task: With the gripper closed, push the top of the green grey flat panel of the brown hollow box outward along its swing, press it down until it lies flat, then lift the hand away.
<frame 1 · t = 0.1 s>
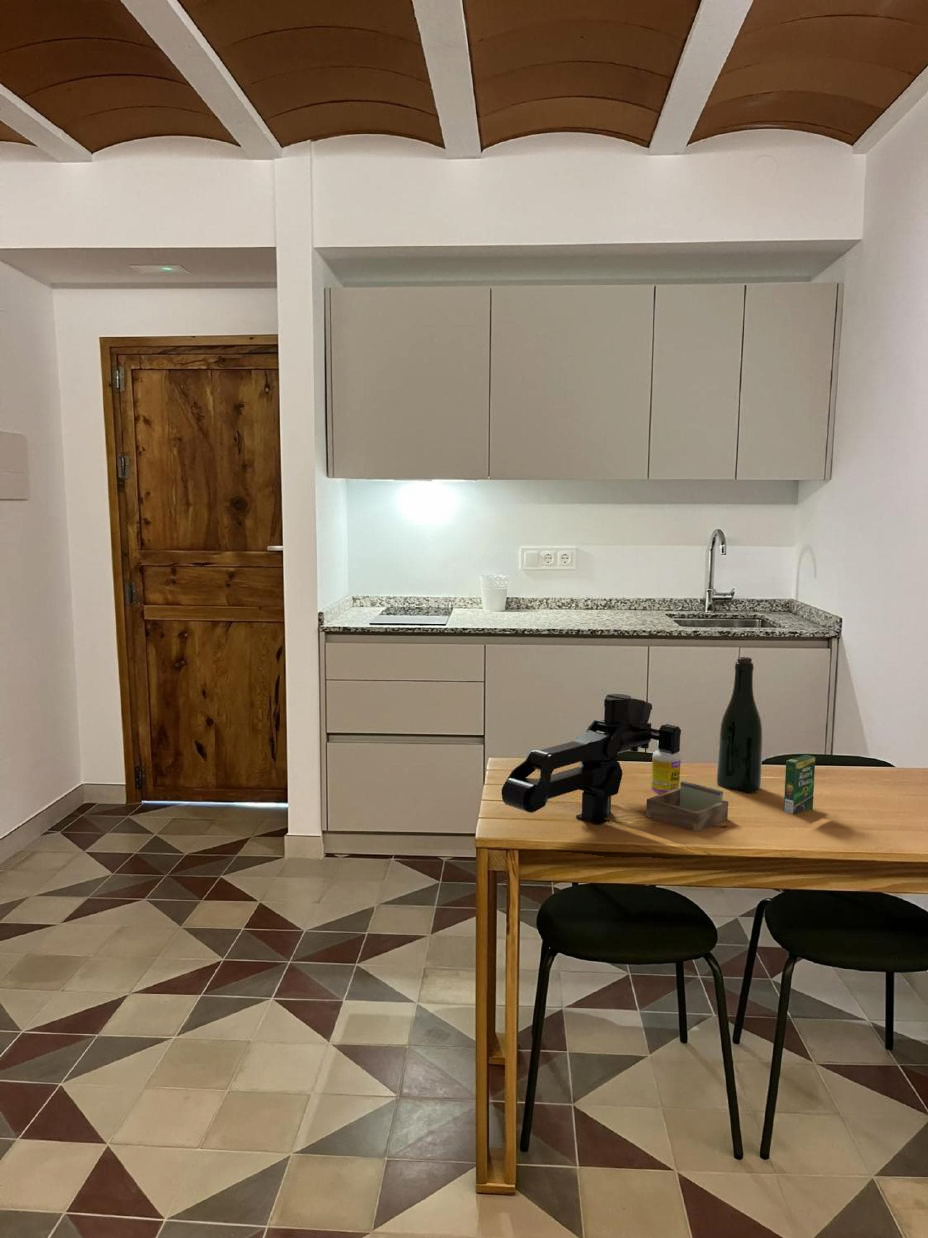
hand: (664, 728, 218), 17 cm above the table, tool horizontal, fingers open, 9 cm apart
green wine bottle: (738, 789, 226), on the table
green grey flat panel: (700, 799, 204), point 4 cm above the table, hinge at 0.0°
coffee box: (797, 814, 207), on the table
brown hollow box: (686, 822, 201), on the table
supplement bottle: (665, 794, 221), on the table
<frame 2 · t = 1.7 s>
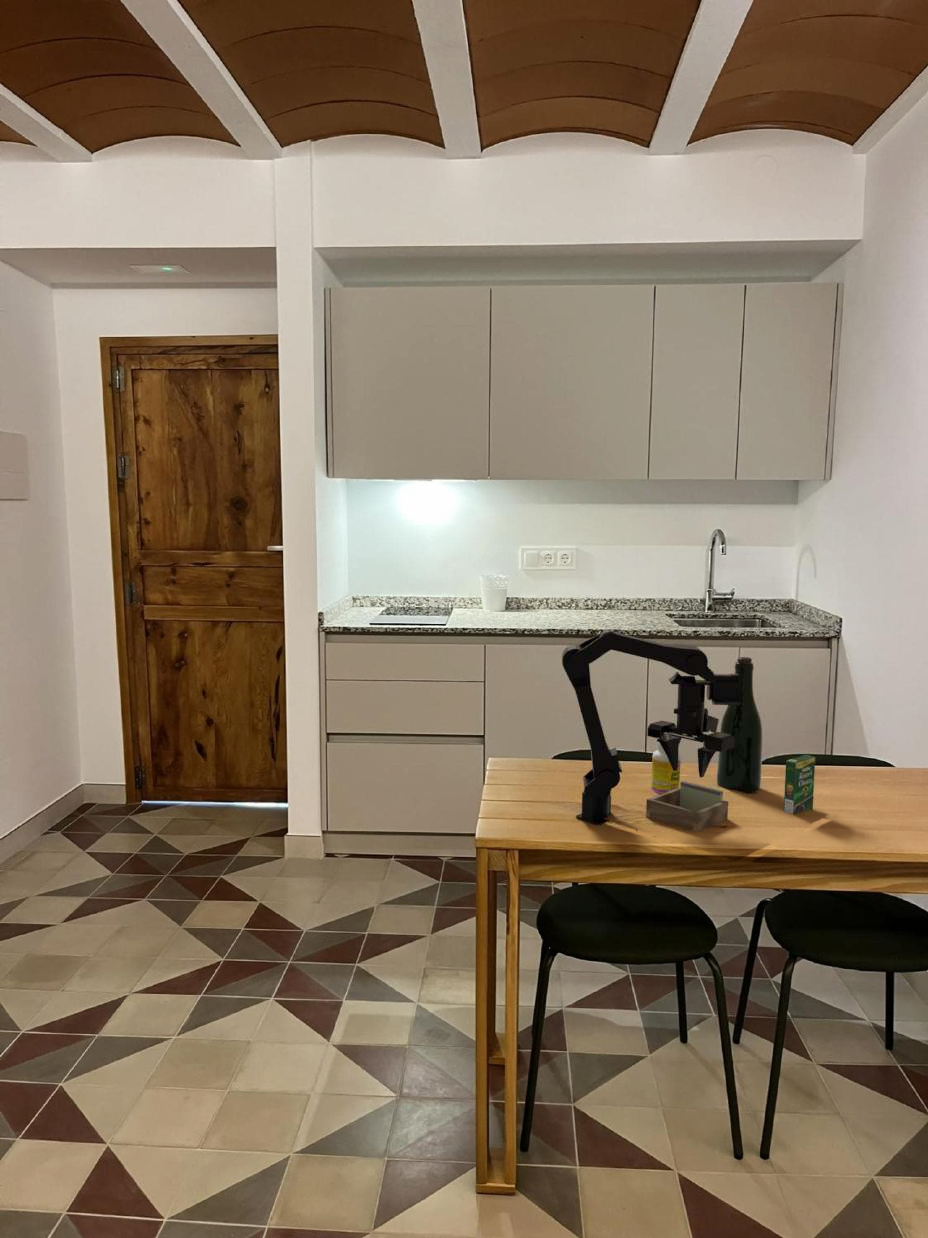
hand: (688, 773, 199), 11 cm above the table, tool pointing down, fingers open, 6 cm apart
nothing on the table moved.
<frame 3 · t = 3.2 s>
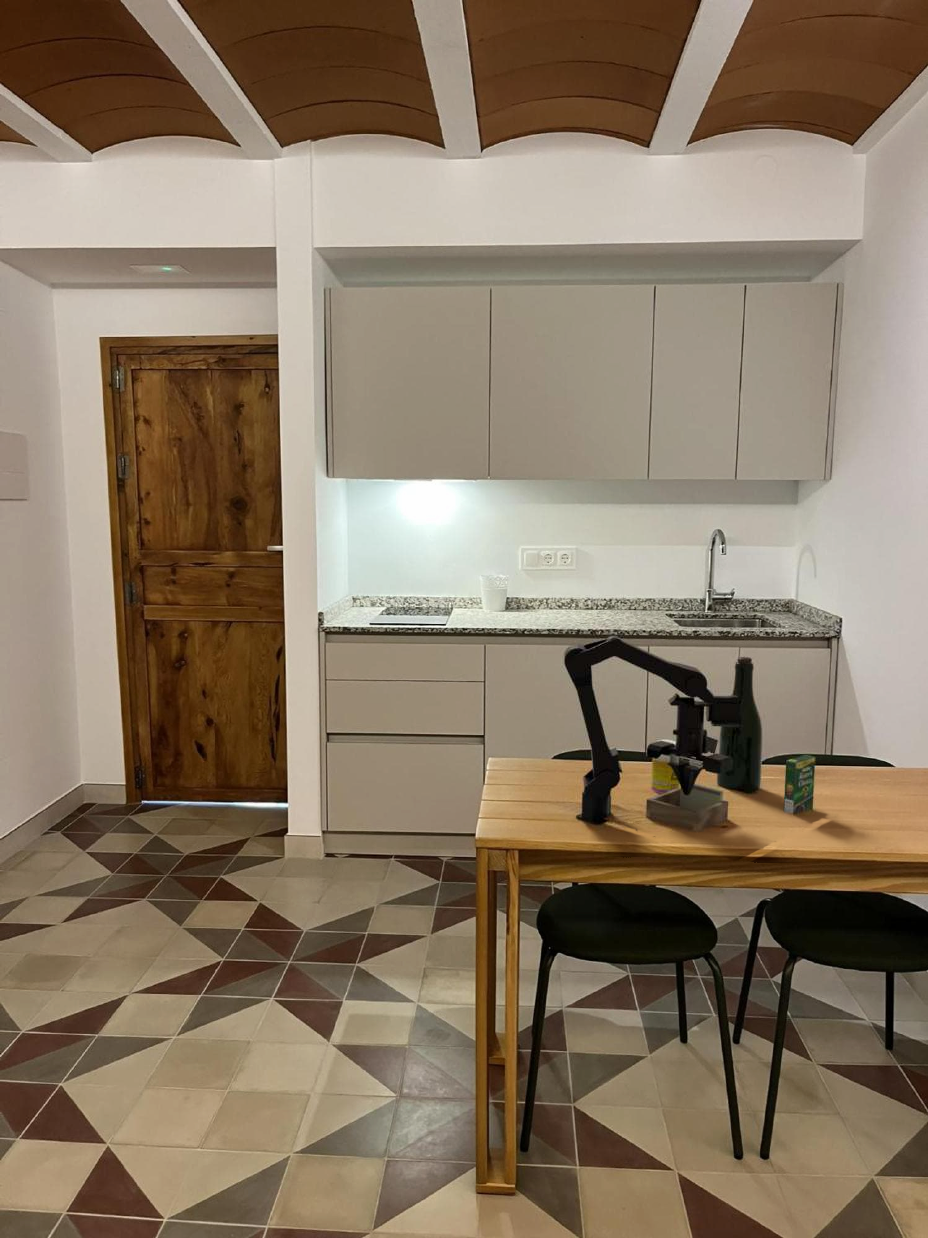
hand: (687, 794, 200), 6 cm above the table, tool pointing down, fingers closed
nothing on the table moved.
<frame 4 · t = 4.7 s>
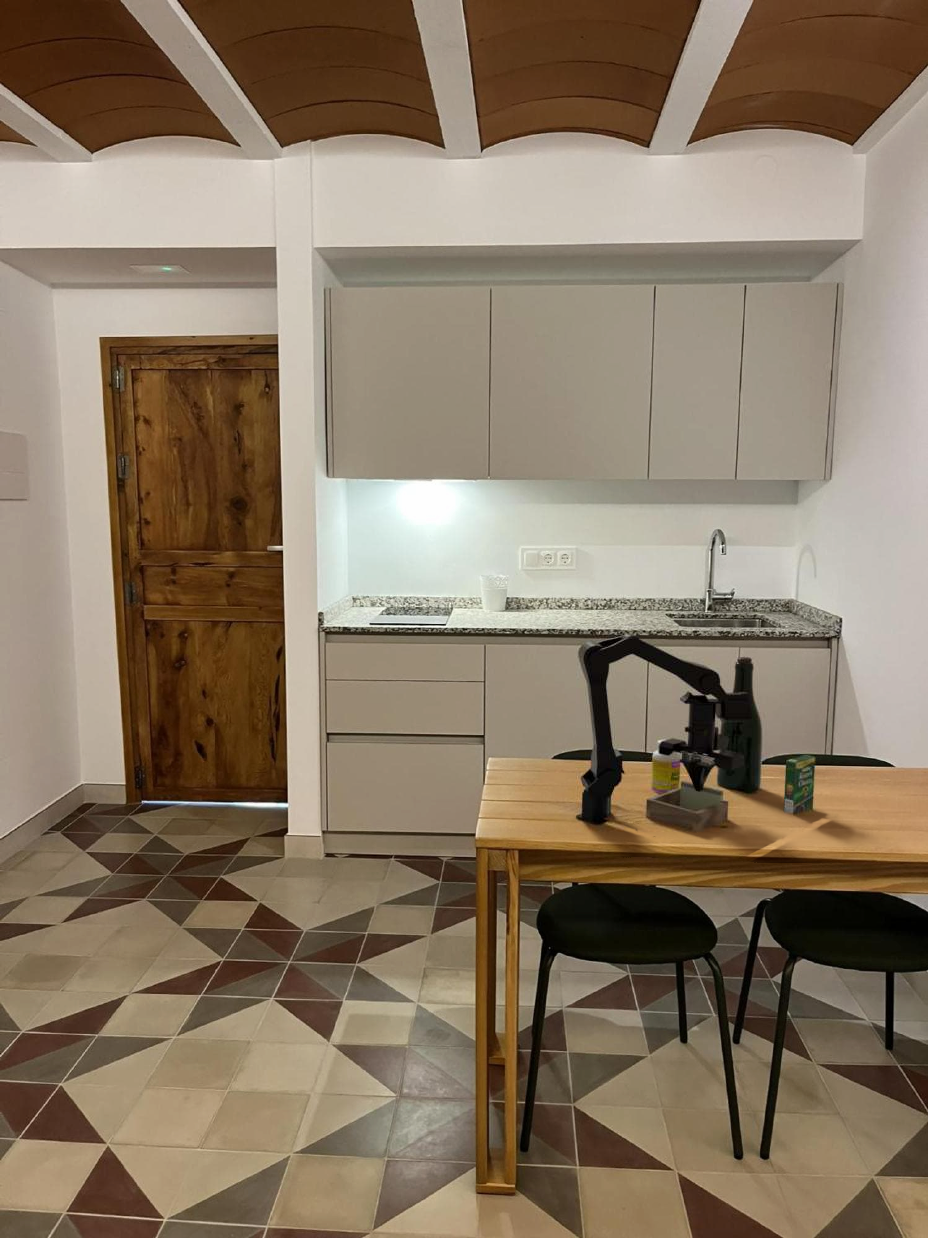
hand: (698, 791, 203), 6 cm above the table, tool pointing down, fingers closed, pressing on green grey flat panel
green grey flat panel: (701, 799, 204), point 4 cm above the table, hinge at 1.2°, touching gripper
everything else where it was.
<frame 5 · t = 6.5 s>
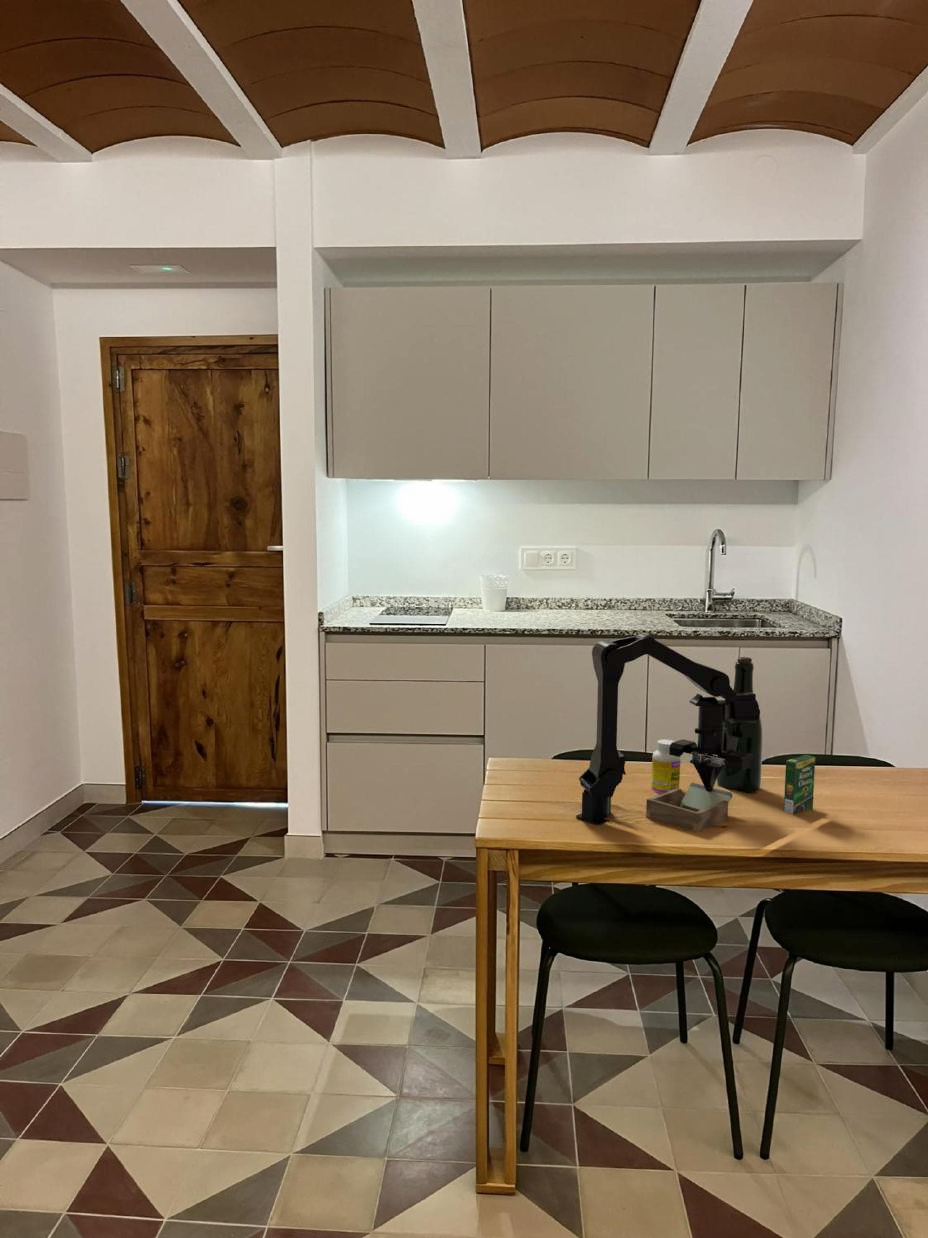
hand: (709, 791, 206), 5 cm above the table, tool pointing down, fingers closed, pressing on green grey flat panel
green grey flat panel: (706, 799, 206), point 3 cm above the table, hinge at 46.2°, touching gripper
everything else where it was.
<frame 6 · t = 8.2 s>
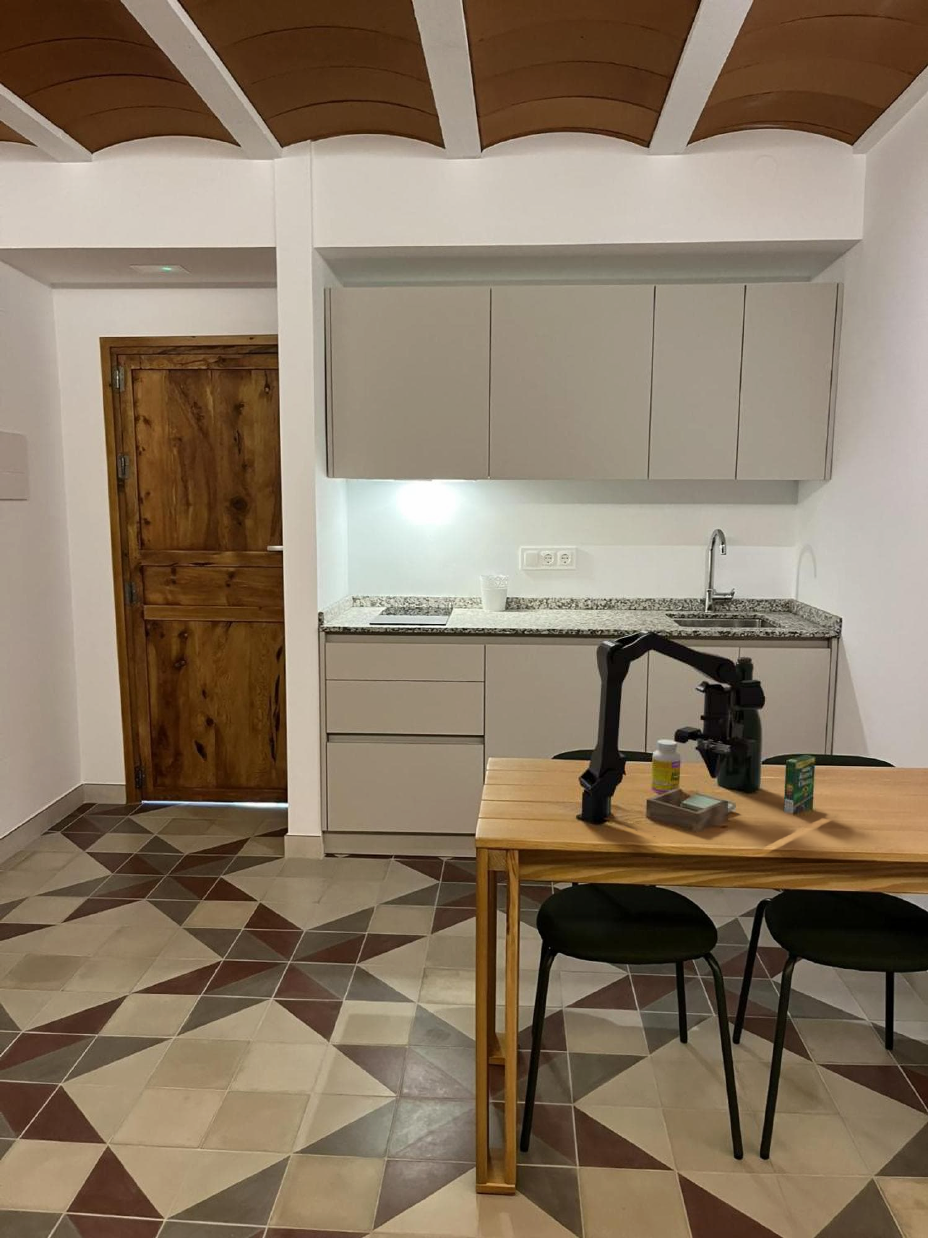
hand: (714, 778, 207), 8 cm above the table, tool pointing down, fingers closed
green grey flat panel: (708, 804, 207), point 2 cm above the table, hinge at 80.7°
everything else where it was.
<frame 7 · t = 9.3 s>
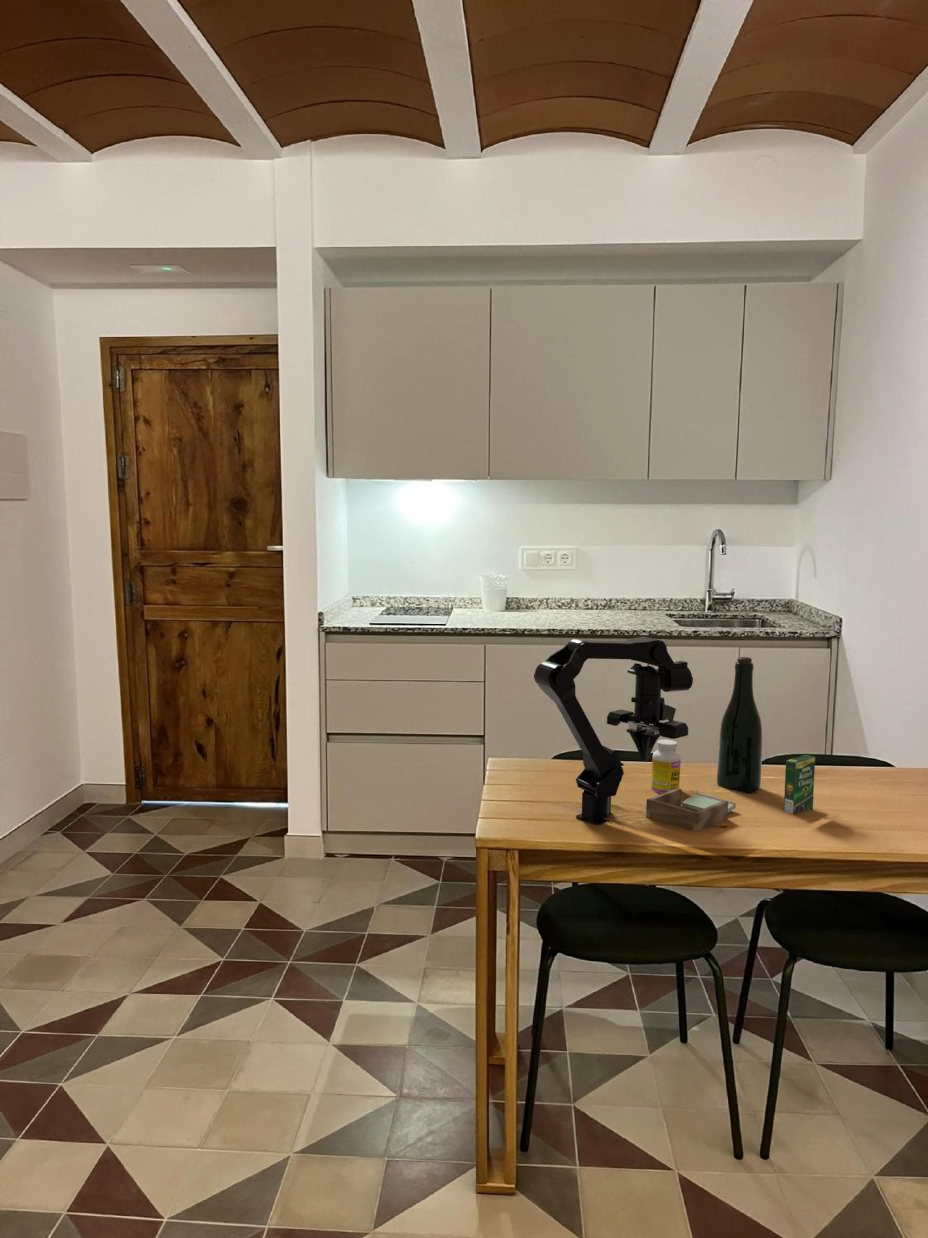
hand: (644, 760, 206), 12 cm above the table, tool pointing down, fingers closed
nothing on the table moved.
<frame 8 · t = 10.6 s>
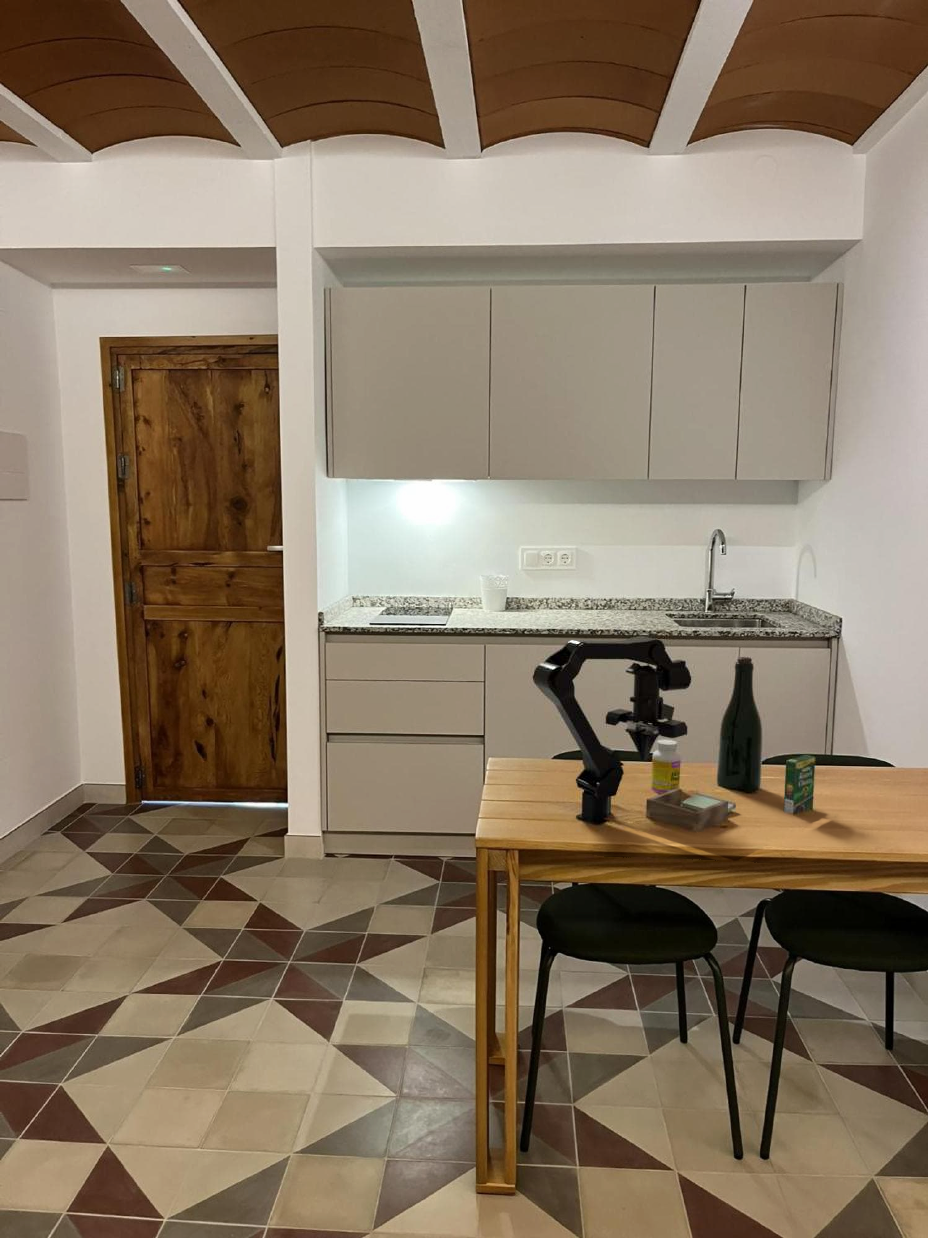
hand: (644, 760, 207), 12 cm above the table, tool pointing down, fingers closed
nothing on the table moved.
at the end: green grey flat panel at +81° (first picture: +0°) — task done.
